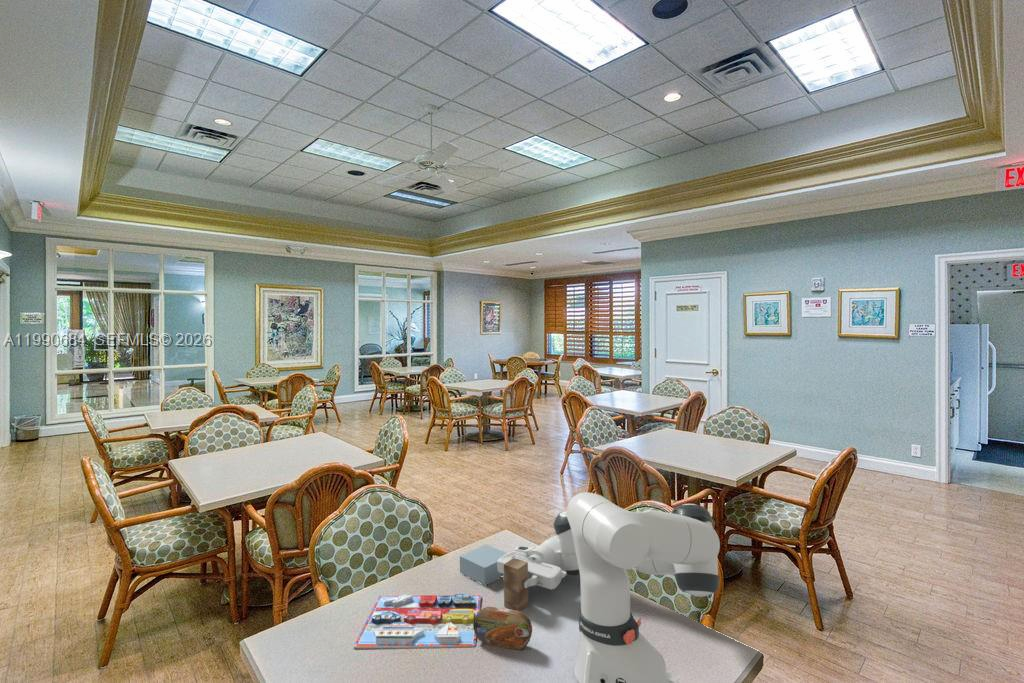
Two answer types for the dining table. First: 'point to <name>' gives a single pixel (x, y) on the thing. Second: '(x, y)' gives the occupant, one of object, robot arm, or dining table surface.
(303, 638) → the dining table surface
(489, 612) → the tin
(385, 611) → the puzzle board
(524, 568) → the walnut block
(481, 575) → the grey box
